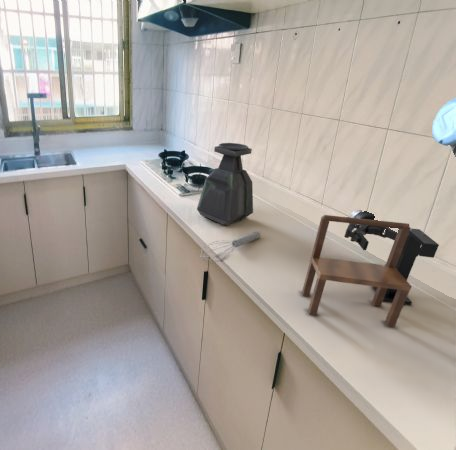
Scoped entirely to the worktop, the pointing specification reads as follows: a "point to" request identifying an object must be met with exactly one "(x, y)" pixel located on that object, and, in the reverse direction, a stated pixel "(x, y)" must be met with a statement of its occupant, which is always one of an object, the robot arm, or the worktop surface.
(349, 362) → the worktop surface
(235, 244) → the kitchen whisk
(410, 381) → the worktop surface
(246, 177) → the dark grey vase
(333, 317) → the worktop surface
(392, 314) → the chair
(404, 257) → the black pedestal stand
